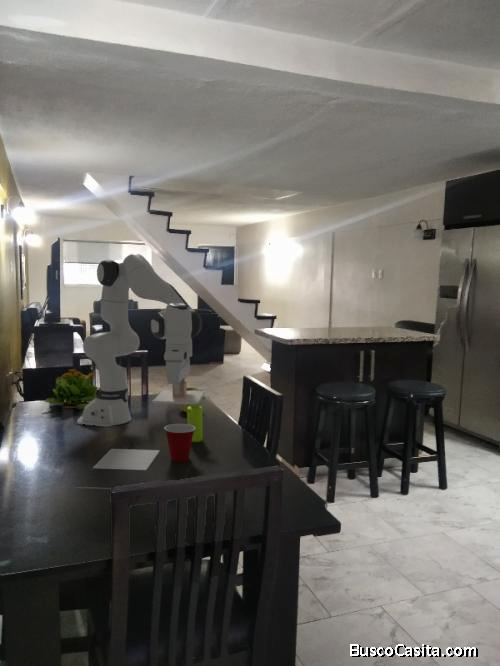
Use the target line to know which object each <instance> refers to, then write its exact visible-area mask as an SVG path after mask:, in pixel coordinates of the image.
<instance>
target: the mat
mask: <svg viewBox="0 0 500 666" xmlns="http://www.w3.org/2000/svg"><path fill="white" fill-rule="evenodd" d="M159 452H160V450H159V449H135V448H134V449H128V448H124V449H123V448H110V450H108V452H107V453H106V454H104V455H103V457H101V459H99V461H97V463H95V465H94V466H93V467H92V469H99V470H100V469H102V470H103V469H104V470H126V471H127V470H129V471H131V470H134V471H147V469H149V467H150V466H151V464H152V462H153V461H154V460H155V458H156V457H157V455H158V454H159Z"/></svg>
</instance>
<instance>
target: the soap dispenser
mask: <svg viewBox="0 0 500 666" xmlns="http://www.w3.org/2000/svg"><path fill="white" fill-rule="evenodd" d="M198 389H199V388H197V389H195V390H191V391H205V390H203V389H199V390H198ZM203 408H204V407H203V406H202V405H200V402H199V403H198V404H190V406H189V407H187V412H186V416H187V417H186V419H187V420H186V423H187V424H188V425H193V426H195V428H196V429H195V431H194V434H193V437H192V442H191V443H199V442H203V440H204V439H203V437H204V436H203V433H204V432H203V431H204V429H203V426H204V425H203V423H204V422H203V420H204V419H203V418H204V417H203V411H204V410H203Z"/></svg>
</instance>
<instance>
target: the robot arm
mask: <svg viewBox="0 0 500 666" xmlns="http://www.w3.org/2000/svg"><path fill="white" fill-rule="evenodd" d="M96 278H97V281H98V282H99V284H100V285H102V290H101V296H100V298H101V299H100V300H101V301H100V318H101V320H103V321H104V322H105V323H107V324H108V325H109V327H110V329H109V330H110V331H105V332H96V333H94V334H91V335H88V336H86V337H85V339H84V341H83V343H82V348H83V352H84V354H85V355H86V357H87V358H89V359H91V361H93V363H94V364H95V366H96V367H97V370H98V373H99V374H98V375H99V388H98V390H97V391H96V392H95V395H96V396H97V397H96V398H95V399H94V400H92V401H89V404H88V405H86V406H85V407H84V408H83V409H82V410H83V411H82V415H81V416H80V417H78V418H77V420H76V423H77V425H83V424H85V425H86V426H93V425H95V427H105V428H108V427H109V428H110V427H112V426H117V425H122V424H123V425H124V424H126V423H129V422H130V421H132V417H131V413H130V409H129V403H128V402H129V388H128V387H127V383H128V382H127V381H128V380H127V370H126V369H125V368H124V367H123V366H121V365H119V364H117V361H116V360H117V359H116V357H122V356H123V357H124V356H128V355H130V354H134V353H136V352H138V349H139V347H140V344H141V341H140V337H139V335H138V334H137V332H136V331H134V330H133V329H132V327H131V325H130V322H129V301H130V300H129V299H130V298H129V297H130V296H129V293H130V292H129V291H130V290H131V292H132V293H133V294H134V295H135V296H137V297H138V298H140V299H143V300H147V301H148V300H150V301H155V302H160V303H163V304H165V305H166V306H165V307H166V308H164V309H163V310H161V311H157V312H155V313H154V314H153V315H152V317H151V318H150V320H149V327H150V333H151V334H152V335H153V336H154V338H157V339H160V340H166V341H165V351H164V355H163V359H164V361H165V373H166V374H165V375H166V381H167V383H168V385H172V384H174V388H175V393H176V394H179V393H180V392H181V388H180V383H181V382H186V381H185V380H186V377H187V375H189V373H190V371H191V361H190V358H192V357H193V340H192V339H194V338H195V337H197V335H199V333H200V332H201V330H202V328H203V320H202V317H201V315H200V314H199V313H198V312H197V311H196V310H195V309H194V308H192V307H191V306H190V305H189V304H188V303H187V301H186V300H185V298H184V297H183V296H182V295H181V294H180V293H179V292H178V290H177V289H176V288H175V287H174V286H173V285H172V284H170V283H168V282H167V281H166V280H164V279H163V278H162V277H161V276H160V275H158V274H157V272H156V271H155V269H154V268H153V266H152V265H151V263H150V262H149V261H148V259H146V257H144V256H143V255H142V254H140V253H131V254H128V255H127V256H125V258H124V259H105V260H101V261H100V263H98V265H97V268H96Z"/></svg>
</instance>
